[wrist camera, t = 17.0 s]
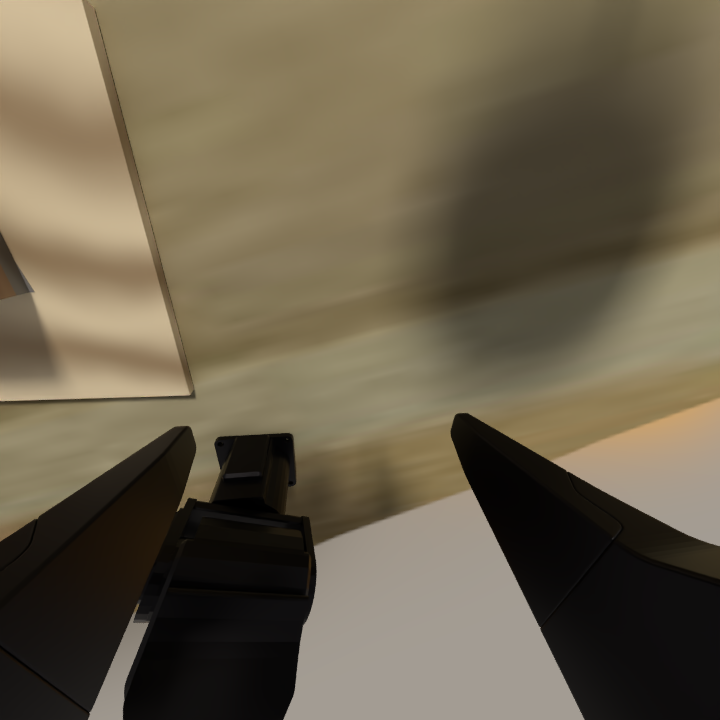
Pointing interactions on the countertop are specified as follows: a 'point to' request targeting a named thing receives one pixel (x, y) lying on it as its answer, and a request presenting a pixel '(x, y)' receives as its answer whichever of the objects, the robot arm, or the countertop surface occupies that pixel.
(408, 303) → the countertop surface
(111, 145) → the birch board
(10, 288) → the block
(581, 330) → the countertop surface
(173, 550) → the robot arm
